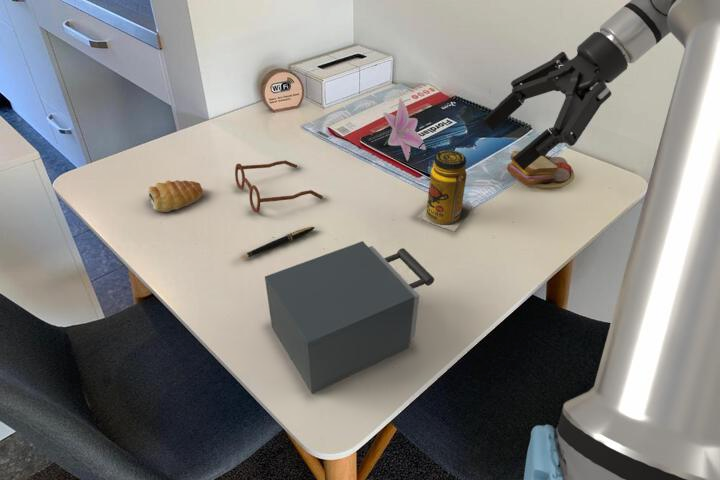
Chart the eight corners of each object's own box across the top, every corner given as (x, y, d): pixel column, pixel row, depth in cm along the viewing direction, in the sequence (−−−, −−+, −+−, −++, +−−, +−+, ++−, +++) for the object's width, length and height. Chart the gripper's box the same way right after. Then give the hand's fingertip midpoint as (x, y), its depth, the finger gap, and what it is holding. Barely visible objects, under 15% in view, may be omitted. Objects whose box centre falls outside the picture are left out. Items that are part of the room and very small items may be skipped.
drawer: (393, 276, 80) (396, 236, 75) (439, 325, 72) (445, 284, 67) (288, 319, 73) (283, 278, 68) (325, 378, 65) (323, 336, 60)
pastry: (196, 184, 101) (193, 167, 98) (209, 202, 96) (205, 184, 94) (147, 199, 97) (142, 181, 94) (157, 217, 92) (152, 200, 90)
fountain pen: (240, 263, 83) (239, 256, 82) (237, 259, 84) (236, 252, 83) (317, 231, 90) (316, 224, 89) (313, 228, 90) (313, 221, 89)
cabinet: (361, 290, 78) (362, 240, 72) (409, 347, 70) (414, 296, 64) (271, 327, 73) (264, 276, 67) (311, 394, 64) (307, 343, 58)
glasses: (234, 183, 101) (231, 160, 98) (297, 167, 106) (295, 145, 103) (257, 218, 92) (254, 195, 89) (324, 199, 97) (323, 176, 94)
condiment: (416, 218, 93) (422, 159, 85) (439, 196, 98) (446, 139, 91) (453, 232, 90) (462, 172, 82) (474, 209, 95) (485, 151, 88)
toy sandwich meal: (585, 187, 101) (592, 166, 98) (522, 196, 99) (527, 175, 96) (552, 156, 111) (557, 136, 108) (493, 163, 108) (497, 143, 105)
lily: (377, 170, 107) (402, 138, 101) (355, 128, 112) (377, 95, 106) (420, 171, 115) (445, 141, 108) (397, 131, 119) (420, 100, 113)
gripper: (673, 97, 72) (545, 196, 79) (584, 38, 91) (488, 123, 98) (652, 60, 68) (519, 169, 75) (563, 7, 87) (465, 98, 94)
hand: (501, 143), depth 87 cm, fingers open, 13 cm apart
